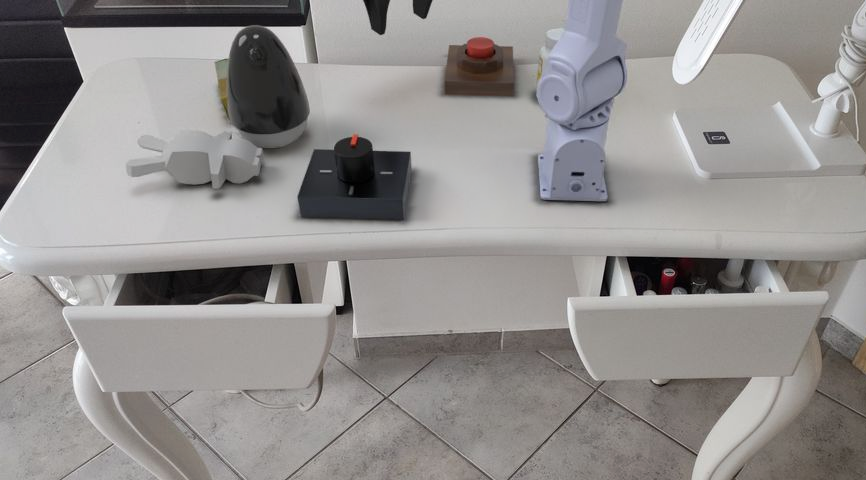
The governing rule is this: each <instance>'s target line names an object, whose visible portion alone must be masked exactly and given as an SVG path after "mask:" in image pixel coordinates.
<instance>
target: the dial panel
mask: <svg viewBox="0 0 866 480" xmlns="http://www.w3.org/2000/svg"><path fill="white" fill-rule="evenodd" d="M373 157H374V168H375V173H374V175H373V177H372V178H370V179H369V180H367V181H364V182H361V183H348V182H345V181H343V180H341V179H340V178H339V177H338V175H337V168H336V161H335V153H334V149H328V148H327V149H326V148H324V149H323V148H314V149H313V151H312V154H311V157H310V160H309V162H308V165H307V168H306V170H305V174H304V176H303V179H302V182H301V185H300V188H299V191H298V192H297V193H298V194H297V197H296V199H297V202H298V208H299V213H300V217H301V218H312V219H313V218H314V219H347V220H377V221H379V220H380V221H383V220H384V221H385V220H386V221H404V220H405V216H406V209H407V204H408V197H409V192H410V191H409V190H410V186H411V178H412V172H413V168H412V167H413V166H412V152H411V151H402V150H399V151H398V150H373Z"/></svg>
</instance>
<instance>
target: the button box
mask: <svg viewBox="0 0 866 480" xmlns="http://www.w3.org/2000/svg"><path fill="white" fill-rule="evenodd" d="M444 74H445V75H444V95H449V96H453V95H454V96H485V97H486V96H488V97H489V96H490V97H491V96H492V97H514V85H515V77H514V46H512V45H511V46H510V45H509V46H508V45H506V46H505V45H504V46H503V45H498V44H496V43H494V55H493V56H492V57H490V58H485V59H476V58H472V57H469V56H468V55H467V43H463V44H449V45H448V51H447V59H446V67H445V73H444Z"/></svg>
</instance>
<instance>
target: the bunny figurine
mask: <svg viewBox="0 0 866 480" xmlns="http://www.w3.org/2000/svg"><path fill="white" fill-rule="evenodd" d="M232 134H233V133H232V132H229V131H223V132H221V133H219V134H217V135H215V136H213V135H211V134H209V133H208V132H205V131H200V130H191V129H189V130H181V131H179V132H178V133H177V134H176V135H174V137H172V138H171V139H170V140H169V141H166V140H163V139H162V138H161V139H160V138H158V137H155V136H153V135H149V134H145V135H144V134H143V135H141V136H140V137H139V138H137V141H136V142H137V144H138V146H139V148H141V149H144V150H149V151H154V152H157V153H161V154H160V156H149V157H139V158H133V159H129V160H128V161H127V160H126V162H125V169H126V175H127V176H128V177H130V178H139V177H143V176H147V175H151V174H154V173H158V172H162V171H165V172H166V174H168V175H169V176H171V177H172V178H173V179H174V180H175V181H176V183H178V184H179V183H180V184H183V185H204V184H207V183H209V182H211V185H212V189H213V190H214V189H220V188H221V187H222V185H223V184H224V183H225V181H226V180H227V181H229V182H231V183H232V184H240V185H241V184H243V183H246V182H248V181H249V180H250V179H251V178H253V177H254V176H255V177H256V176H257V177H258V176H259V175H260V172H261V166H262V163H263V160H264V154H263V147H258V146H255V145H254V144H252V143H251V142H250V141H248V140H246V139H244V138H243V137H233V135H232Z"/></svg>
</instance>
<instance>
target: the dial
mask: <svg viewBox="0 0 866 480" xmlns="http://www.w3.org/2000/svg"><path fill="white" fill-rule="evenodd" d="M373 147H374V146H373V143H372V142H371V141H370V140H369V139H367V138H365V137H362V136H359V134H358V133H357V134H352V136H348V137H344V138H341V139H339V140H338V141H336V143H335V144H334V146H333V150H334V153H335V161H336V168H337V175H338V177H339V178H340V179H341V180H343V181H345V182H348V183H361V182H364V181H367V180H369V179H370V178H372V177H373V175H374V173H375V168H374V157H373V151H374V148H373Z"/></svg>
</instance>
